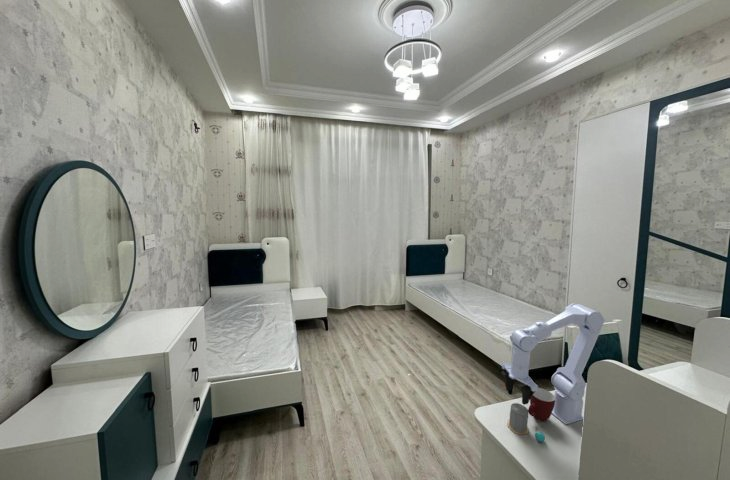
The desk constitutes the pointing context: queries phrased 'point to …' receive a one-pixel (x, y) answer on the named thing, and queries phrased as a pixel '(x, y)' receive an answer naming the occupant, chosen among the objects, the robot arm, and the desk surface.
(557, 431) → the desk surface
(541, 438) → the marble
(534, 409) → the mug
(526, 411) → the faceted grey cylinder
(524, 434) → the tan round coaster
